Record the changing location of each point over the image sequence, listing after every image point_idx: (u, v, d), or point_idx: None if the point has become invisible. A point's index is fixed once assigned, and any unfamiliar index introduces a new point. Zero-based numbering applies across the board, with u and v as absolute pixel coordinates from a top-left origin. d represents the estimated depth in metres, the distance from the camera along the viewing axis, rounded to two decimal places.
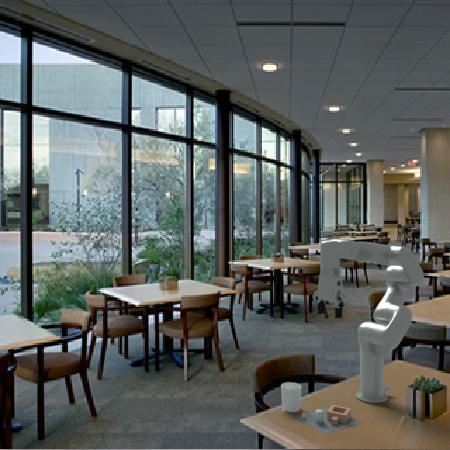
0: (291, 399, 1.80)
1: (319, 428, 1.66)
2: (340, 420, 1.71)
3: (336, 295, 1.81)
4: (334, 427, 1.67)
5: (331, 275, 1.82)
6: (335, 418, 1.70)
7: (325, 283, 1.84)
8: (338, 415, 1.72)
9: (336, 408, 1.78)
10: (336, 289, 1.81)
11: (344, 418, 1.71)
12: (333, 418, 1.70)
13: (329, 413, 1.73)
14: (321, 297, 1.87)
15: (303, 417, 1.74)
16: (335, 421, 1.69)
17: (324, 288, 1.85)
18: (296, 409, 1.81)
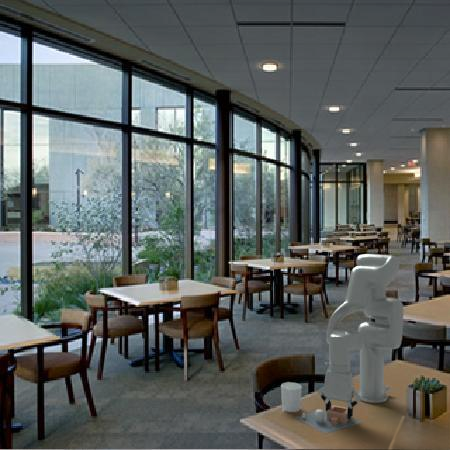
0: (291, 399, 1.80)
1: (319, 428, 1.66)
2: (340, 420, 1.71)
3: None
4: (334, 427, 1.67)
5: None
6: (335, 418, 1.70)
7: None
8: (338, 415, 1.72)
9: (336, 408, 1.78)
10: None
11: (344, 418, 1.71)
12: (333, 418, 1.70)
13: (329, 413, 1.73)
14: None
15: (303, 417, 1.74)
16: (335, 421, 1.69)
17: None
18: (296, 409, 1.81)
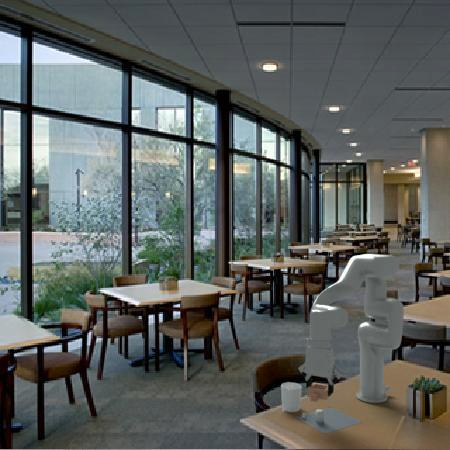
0: (291, 399, 1.80)
1: (319, 428, 1.66)
2: (320, 397, 1.67)
3: None
4: (334, 427, 1.67)
5: None
6: (315, 394, 1.66)
7: None
8: (318, 391, 1.68)
9: (317, 385, 1.74)
10: None
11: (324, 394, 1.67)
12: (313, 394, 1.66)
13: (309, 390, 1.69)
14: None
15: (303, 417, 1.74)
16: (315, 397, 1.65)
17: None
18: (296, 409, 1.81)
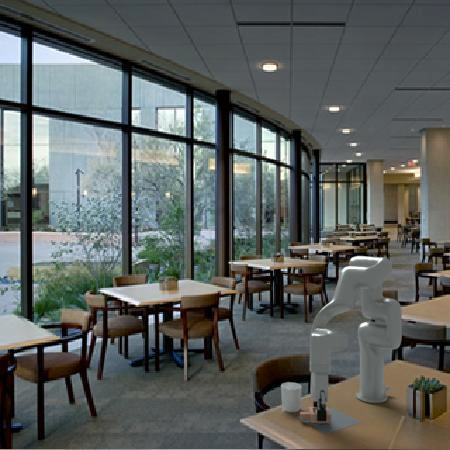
0: (291, 399, 1.80)
1: (319, 428, 1.66)
2: (310, 418, 1.70)
3: None
4: (334, 427, 1.67)
5: None
6: (303, 413, 1.71)
7: None
8: (310, 412, 1.71)
9: None
10: None
11: (311, 417, 1.68)
12: (302, 412, 1.72)
13: (308, 409, 1.74)
14: None
15: None
16: (300, 415, 1.71)
17: None
18: (296, 409, 1.81)
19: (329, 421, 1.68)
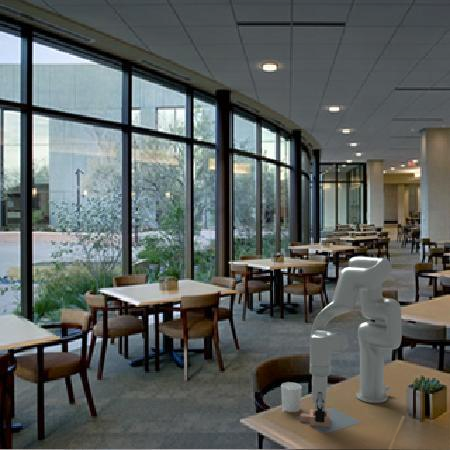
0: (291, 399, 1.80)
1: (319, 428, 1.66)
2: (309, 420, 1.71)
3: None
4: (334, 427, 1.67)
5: None
6: (303, 415, 1.72)
7: None
8: (309, 415, 1.71)
9: (326, 414, 1.73)
10: None
11: (309, 419, 1.69)
12: (302, 414, 1.73)
13: (310, 411, 1.75)
14: None
15: None
16: (300, 417, 1.72)
17: None
18: (296, 409, 1.81)
19: (328, 425, 1.68)
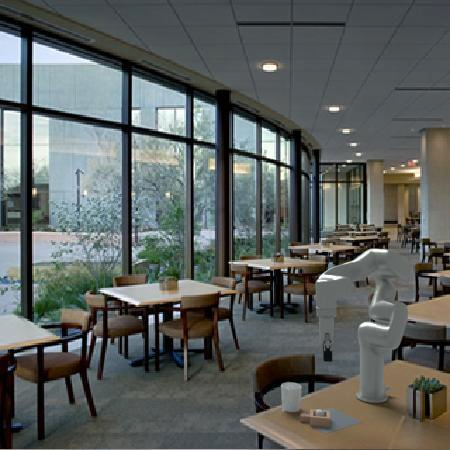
0: (291, 399, 1.80)
1: (319, 428, 1.66)
2: (309, 420, 1.71)
3: None
4: (334, 427, 1.67)
5: None
6: (303, 415, 1.72)
7: None
8: (309, 415, 1.71)
9: (326, 414, 1.73)
10: None
11: (309, 419, 1.69)
12: (302, 414, 1.73)
13: (310, 411, 1.75)
14: None
15: None
16: (300, 417, 1.72)
17: None
18: (296, 409, 1.81)
19: (328, 425, 1.68)
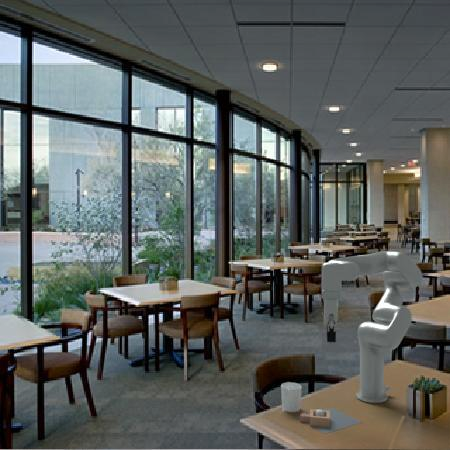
0: (291, 399, 1.80)
1: (319, 428, 1.66)
2: (309, 420, 1.71)
3: None
4: (334, 427, 1.67)
5: None
6: (303, 415, 1.72)
7: None
8: (309, 415, 1.71)
9: (326, 414, 1.73)
10: None
11: (309, 419, 1.69)
12: (302, 414, 1.73)
13: (310, 411, 1.75)
14: None
15: None
16: (300, 417, 1.72)
17: None
18: (296, 409, 1.81)
19: (328, 425, 1.68)
